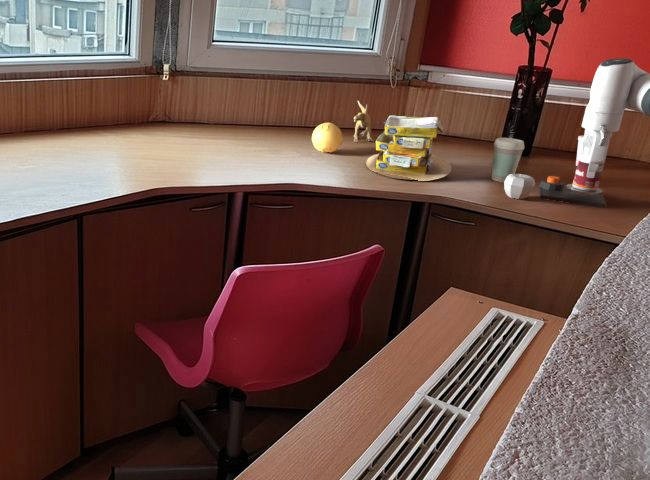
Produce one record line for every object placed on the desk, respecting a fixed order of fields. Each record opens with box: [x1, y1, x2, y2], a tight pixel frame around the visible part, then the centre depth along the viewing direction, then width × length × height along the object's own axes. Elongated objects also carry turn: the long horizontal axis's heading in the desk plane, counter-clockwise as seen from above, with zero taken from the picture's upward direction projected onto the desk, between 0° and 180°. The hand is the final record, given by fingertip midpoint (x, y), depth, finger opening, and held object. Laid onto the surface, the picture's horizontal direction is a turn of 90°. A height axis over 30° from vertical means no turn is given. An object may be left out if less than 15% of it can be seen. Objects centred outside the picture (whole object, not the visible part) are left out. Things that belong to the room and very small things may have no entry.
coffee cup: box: [491, 137, 525, 183], centre depth 213 cm, size 9×8×12 cm
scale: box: [538, 178, 607, 209], centre depth 200 cm, size 16×14×3 cm
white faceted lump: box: [503, 173, 536, 200], centre depth 196 cm, size 8×8×7 cm
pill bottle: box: [572, 147, 605, 191], centre depth 194 cm, size 6×6×11 cm
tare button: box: [546, 175, 560, 184], centre depth 203 cm, size 3×3×2 cm
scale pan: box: [565, 183, 604, 195], centre depth 196 cm, size 9×9×1 cm
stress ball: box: [311, 122, 343, 153], centre depth 238 cm, size 10×10×10 cm
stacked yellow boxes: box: [365, 114, 452, 182], centre depth 217 cm, size 25×25×17 cm
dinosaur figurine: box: [350, 100, 374, 143], centre depth 259 cm, size 8×26×13 cm, turn 165°
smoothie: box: [575, 135, 585, 167], centre depth 233 cm, size 6×6×14 cm
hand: (588, 173), depth 194 cm, fingers open, 8 cm apart
